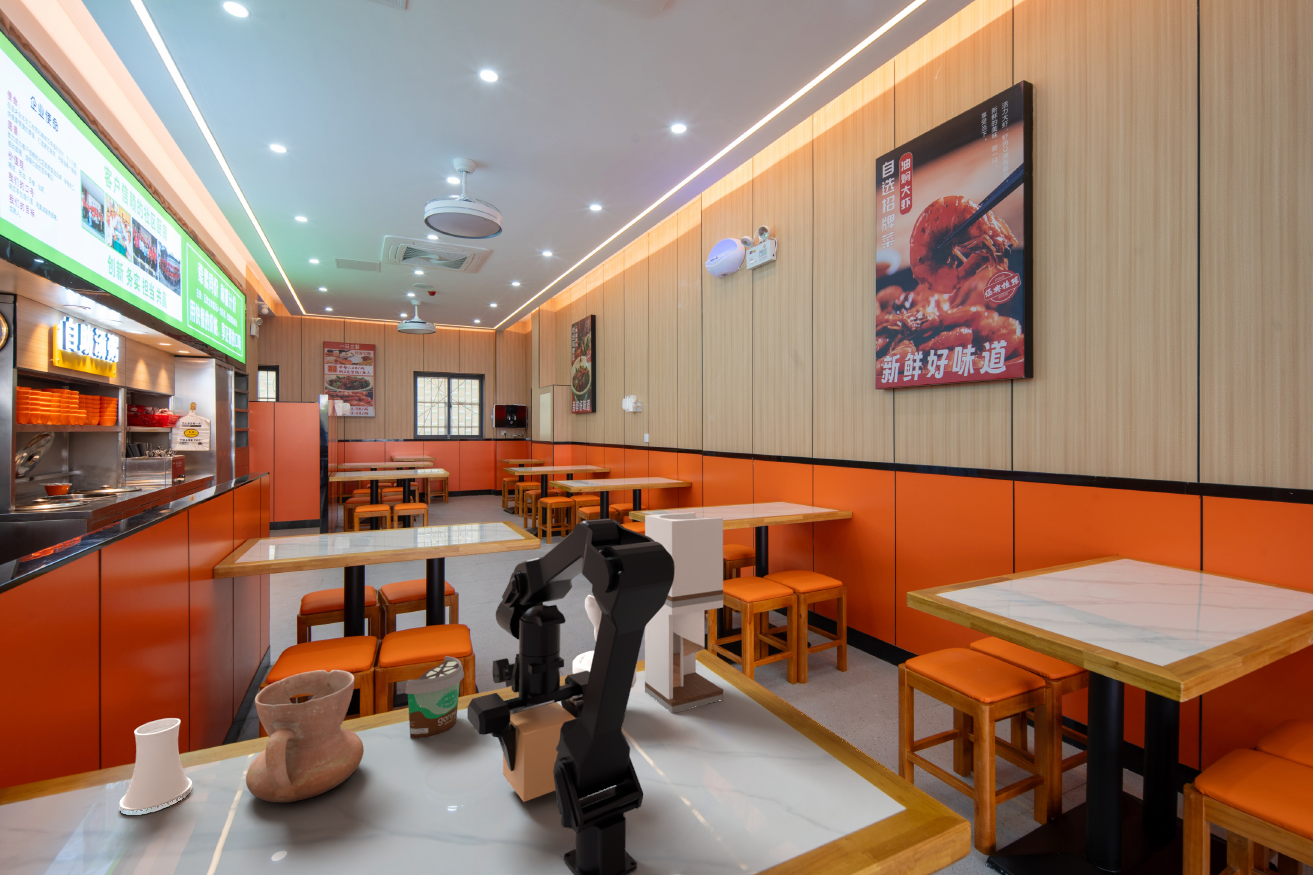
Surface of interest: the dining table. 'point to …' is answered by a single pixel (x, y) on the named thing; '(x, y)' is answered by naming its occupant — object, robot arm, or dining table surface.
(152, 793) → the vase
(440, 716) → the food container
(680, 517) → the white coffee grinder
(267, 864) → the dining table surface
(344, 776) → the ceramic jug
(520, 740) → the tan wooden brick
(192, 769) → the dining table surface
